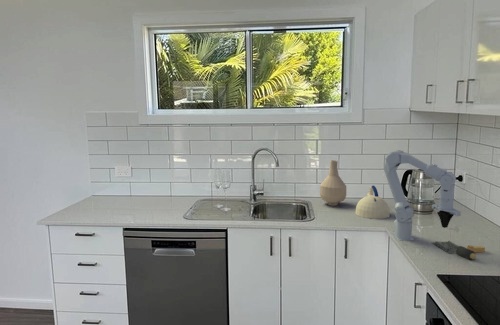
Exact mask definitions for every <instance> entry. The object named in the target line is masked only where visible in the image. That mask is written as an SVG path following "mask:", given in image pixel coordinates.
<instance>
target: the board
mask: <svg viewBox="0 0 500 325" xmlns="http://www.w3.org/2000/svg"><path fill="white" fill-rule="evenodd" d="M431 244H433V245H435V247H438V249H442V250H443V251H445V253H446V254H457V253H456V249H457V247H459V246H460V245H458V244H456V243H454V242H453V241H451V240H448V241H444V242H439V241H436V240H435V241H434V242H431ZM451 250H452V251H451Z"/></svg>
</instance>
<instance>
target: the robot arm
mask: <svg viewBox="0 0 500 325" xmlns="http://www.w3.org/2000/svg"><path fill="white" fill-rule="evenodd" d="M401 164H409V165H411V166H414V167H415V168H418V169H420V170H421V171H423V172H424V175H425V176H427V177H429V178H431V179H433V180H435V181H437V182H439V184H440V188H439V202H438V204H435V203H434V204H431V209H432V210H434V209H435V210H438V211H437V213H436V214H437V215H438V218H439V220H440V224H441V228H444V229H446V228H448V227H449V224H450V222H451V220H452V218H453V217H454V216H455V217H460V216H461V215H462V214H461V213H462V212H461V211H459V210H458V209H455V208H454V198H455V196H454V195H455V183H456V181H457V180H456V179H457V176H456V175H455V174H454V173H453V172H451V171H448V170H447V169H443V168H441V167H439V166H438V164H436V163H434V164H433V163H431V164H427V163H425V162H423V161H422V160H420V159H418V158H416V157H415V156H413V155H411V154H410V153H408V152H404V151H403V150H401V149H400V150H399V149H397V150H396V151H395V150H394V151H391V152H389V153H388V154H387V155H386V157H385V163H384V168H383V170H384V174H385V178H386V180H387V182H388V185H389V189H390V191H391V194H392V197H393V201H394V203H395V205H394V211H395V213H394V214H395V219H394V221H393V224H392V225H393V226H392V227H393V228H392V233H391V234H390V235H391V236H392V237H394V238H395V239H397V240H399V241H412V240H413V241H415V240H416V239H415V238H414V237H412V234H413V233H412V231H413V217H414V215H415V211H414V209H413V207H411V204H410V202H408V201H407V199H406V196H405V193H404V190H403V187H402V184H401V181H400V179H399V176H398V173H397V170H398V168H399V167H400V165H401Z"/></svg>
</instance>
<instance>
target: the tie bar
mask: <svg viewBox="0 0 500 325" xmlns="http://www.w3.org/2000/svg"><path fill="white" fill-rule="evenodd" d="M466 248H467V249H469V250H472V251H474V252H475V253H485V249H486V248H485V246H482V245H477V246H475V245H474V246H473V245H472V244H471V245H470V244H469V245H467V246H466Z"/></svg>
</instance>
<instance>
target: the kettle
mask: <svg viewBox="0 0 500 325" xmlns="http://www.w3.org/2000/svg"><path fill="white" fill-rule="evenodd" d="M366 194H367V195H366V196H364V197H362V198H361V199H360V200H359V201H357V204H356V206H355V215H357V216H358V217H361V218H366V219H370V220H371V219H375V220H379V219H382V220H383V219H386V218H389V217H390V207H389V205H388V203H387V201H385V200H384V199H383V198H382V197H380V196H379V193H378V189H377V187H376V186H375V185H370V187H369V190H368V191H367V192H366Z"/></svg>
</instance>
